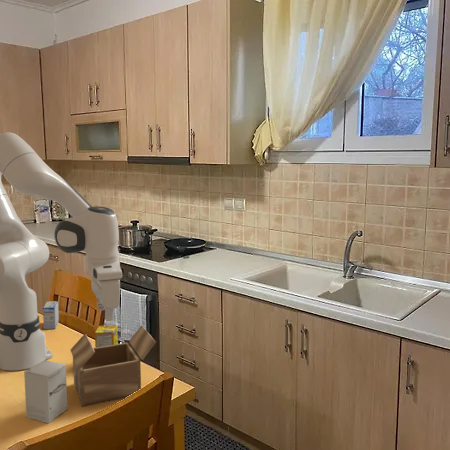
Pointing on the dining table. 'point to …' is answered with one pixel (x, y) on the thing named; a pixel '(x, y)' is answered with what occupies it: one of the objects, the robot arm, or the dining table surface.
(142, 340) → the flap
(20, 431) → the dining table surface
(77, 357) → the flap
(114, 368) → the carton
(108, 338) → the supplement box
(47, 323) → the medicine box
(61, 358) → the dining table surface
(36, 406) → the supplement box
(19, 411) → the dining table surface
